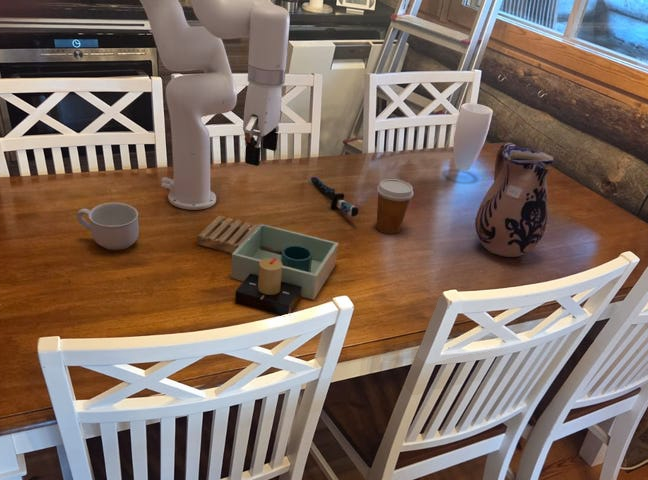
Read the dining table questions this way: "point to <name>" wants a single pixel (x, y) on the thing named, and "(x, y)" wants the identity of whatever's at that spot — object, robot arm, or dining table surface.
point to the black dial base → (268, 296)
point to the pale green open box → (277, 238)
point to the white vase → (470, 134)
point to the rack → (225, 234)
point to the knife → (335, 198)
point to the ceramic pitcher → (515, 202)
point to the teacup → (112, 225)
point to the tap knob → (270, 276)
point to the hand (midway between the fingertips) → (261, 156)
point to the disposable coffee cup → (392, 204)
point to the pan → (293, 257)
